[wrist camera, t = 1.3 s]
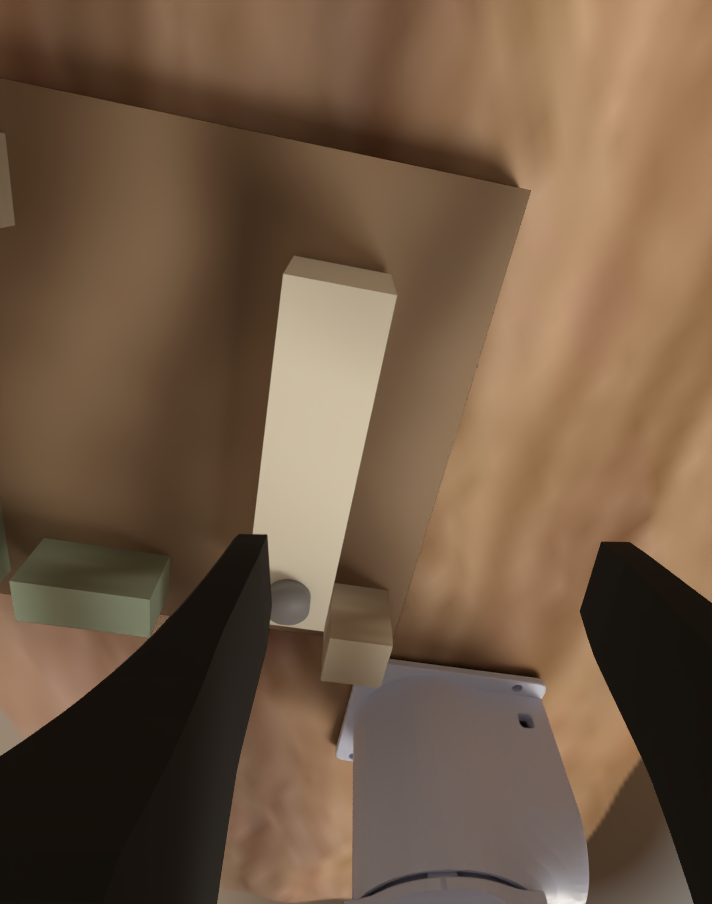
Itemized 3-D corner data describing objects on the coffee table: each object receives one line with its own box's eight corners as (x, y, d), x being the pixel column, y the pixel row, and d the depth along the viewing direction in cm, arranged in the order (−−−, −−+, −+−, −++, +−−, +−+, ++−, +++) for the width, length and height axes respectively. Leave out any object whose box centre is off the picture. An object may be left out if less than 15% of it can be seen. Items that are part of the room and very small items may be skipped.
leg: (326, 579, 23) (322, 644, 20) (254, 569, 22) (239, 633, 19) (391, 274, 17) (398, 300, 14) (294, 255, 16) (280, 278, 13)
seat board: (520, 187, 17) (565, 198, 13) (389, 624, 26) (395, 703, 22) (-115, 53, 15) (-264, 23, 12) (-18, 569, 24) (-84, 644, 21)
